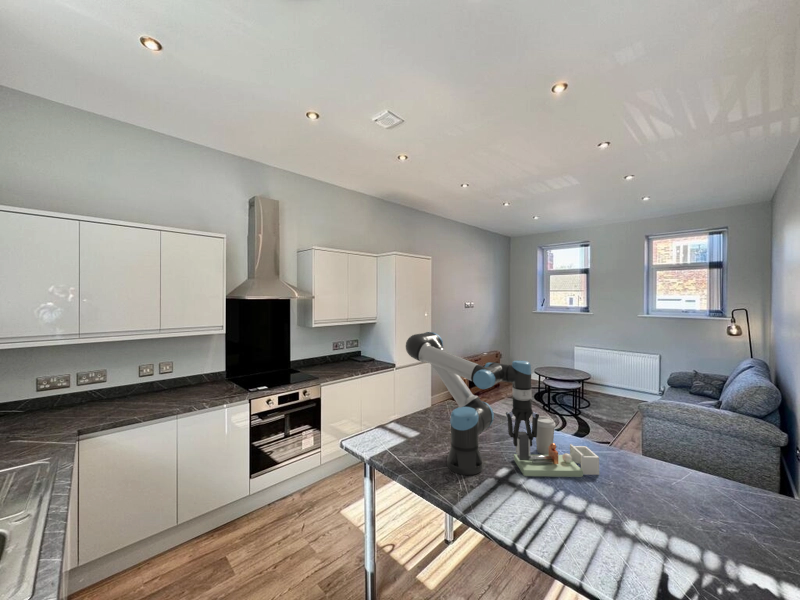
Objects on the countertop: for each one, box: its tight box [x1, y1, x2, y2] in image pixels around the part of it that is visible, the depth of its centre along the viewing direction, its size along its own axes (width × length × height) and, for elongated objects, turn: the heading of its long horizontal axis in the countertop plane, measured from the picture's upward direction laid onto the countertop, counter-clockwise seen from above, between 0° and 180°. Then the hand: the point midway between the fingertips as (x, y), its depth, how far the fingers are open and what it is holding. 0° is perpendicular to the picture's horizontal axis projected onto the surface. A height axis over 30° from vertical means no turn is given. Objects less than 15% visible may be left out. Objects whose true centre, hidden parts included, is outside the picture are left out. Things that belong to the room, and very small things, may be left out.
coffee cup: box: [535, 415, 557, 455], centre depth 146 cm, size 10×10×15 cm
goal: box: [569, 443, 600, 476], centre depth 131 cm, size 7×10×8 cm
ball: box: [562, 452, 572, 463], centre depth 131 cm, size 4×4×4 cm
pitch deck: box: [513, 453, 584, 478], centre depth 132 cm, size 23×13×2 cm, turn 87°
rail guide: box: [532, 461, 552, 464], centre depth 132 cm, size 8×4×1 cm, turn 87°
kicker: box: [517, 431, 559, 464], centre depth 132 cm, size 16×6×11 cm, turn 87°
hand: (522, 453), depth 132 cm, fingers closed on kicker, 4 cm apart
